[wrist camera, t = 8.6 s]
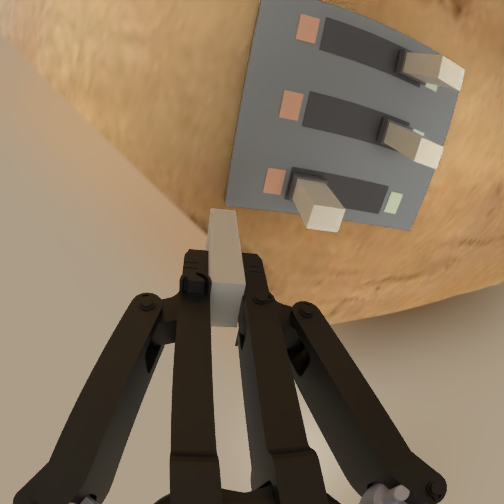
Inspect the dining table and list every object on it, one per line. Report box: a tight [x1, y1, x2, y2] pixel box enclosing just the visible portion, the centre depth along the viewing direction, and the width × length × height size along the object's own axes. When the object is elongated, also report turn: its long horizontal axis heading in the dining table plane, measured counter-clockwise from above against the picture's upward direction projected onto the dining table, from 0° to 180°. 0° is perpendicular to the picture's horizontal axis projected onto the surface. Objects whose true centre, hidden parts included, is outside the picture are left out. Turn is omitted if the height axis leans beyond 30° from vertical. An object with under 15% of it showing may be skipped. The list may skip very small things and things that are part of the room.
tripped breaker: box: [288, 172, 346, 232], centre depth 24 cm, size 2×3×6 cm
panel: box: [225, 0, 459, 231], centre depth 23 cm, size 20×21×1 cm
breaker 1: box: [395, 49, 465, 91], centre depth 17 cm, size 2×3×6 cm
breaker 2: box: [377, 117, 444, 169], centre depth 21 cm, size 2×3×6 cm
